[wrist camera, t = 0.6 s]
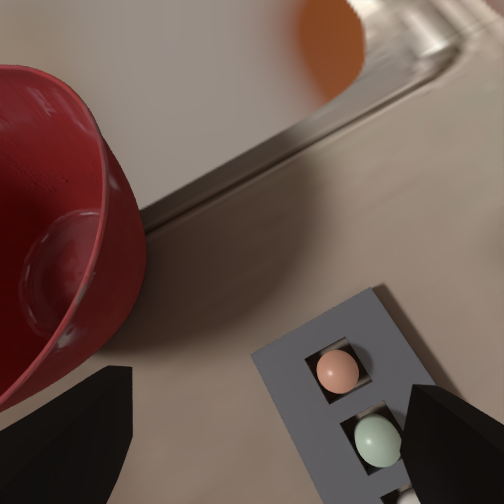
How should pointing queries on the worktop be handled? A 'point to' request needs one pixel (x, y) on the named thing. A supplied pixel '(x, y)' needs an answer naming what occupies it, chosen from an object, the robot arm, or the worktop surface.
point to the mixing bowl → (59, 234)
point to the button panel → (347, 405)
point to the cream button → (408, 497)
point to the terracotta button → (337, 371)
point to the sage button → (377, 440)
